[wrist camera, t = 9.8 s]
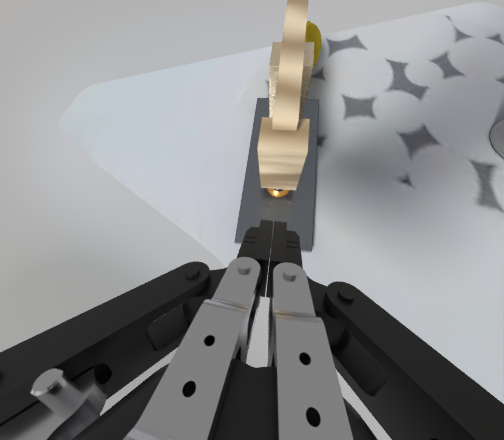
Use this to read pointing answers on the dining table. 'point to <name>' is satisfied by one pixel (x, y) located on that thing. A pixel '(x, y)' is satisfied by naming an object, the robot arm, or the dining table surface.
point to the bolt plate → (302, 199)
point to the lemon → (313, 39)
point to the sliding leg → (286, 110)
